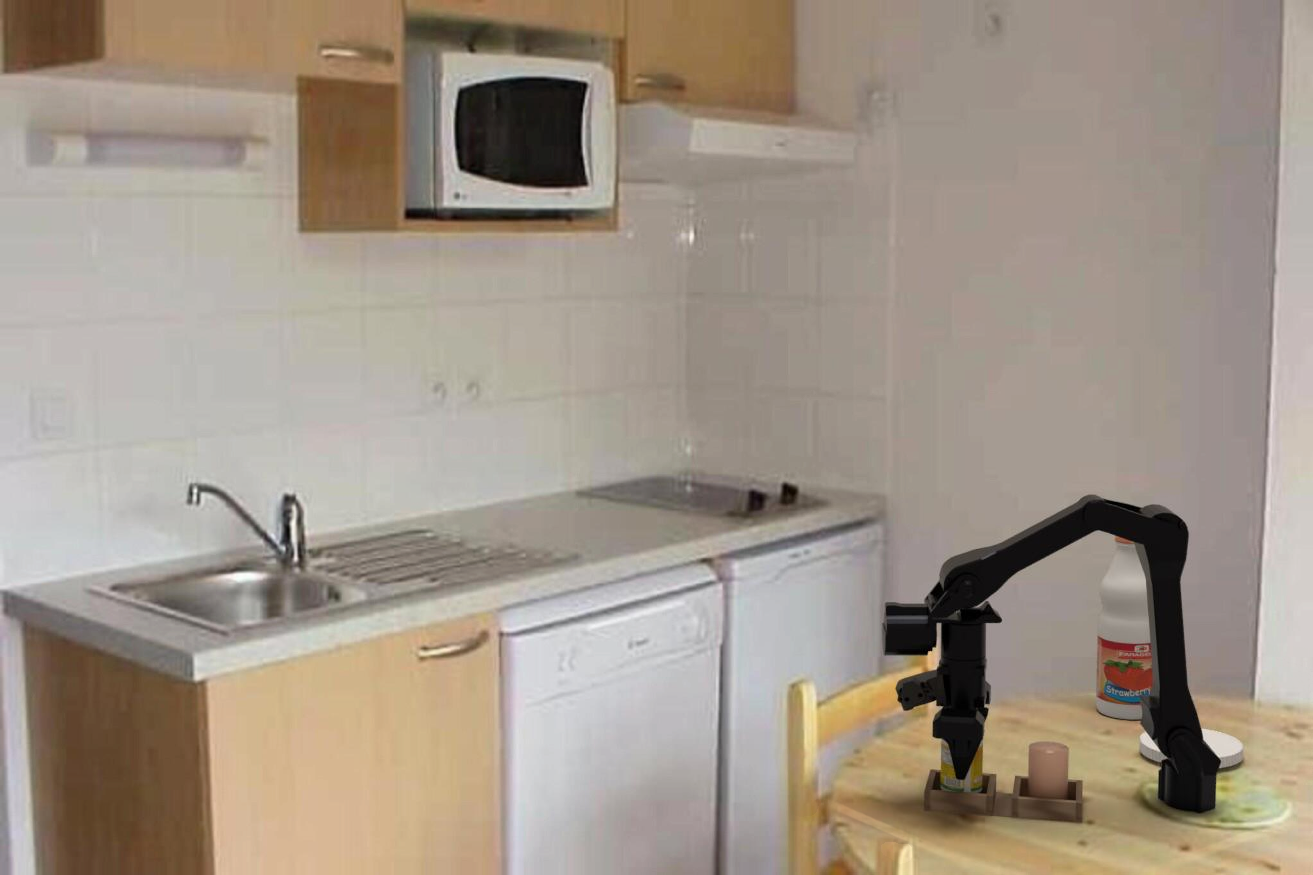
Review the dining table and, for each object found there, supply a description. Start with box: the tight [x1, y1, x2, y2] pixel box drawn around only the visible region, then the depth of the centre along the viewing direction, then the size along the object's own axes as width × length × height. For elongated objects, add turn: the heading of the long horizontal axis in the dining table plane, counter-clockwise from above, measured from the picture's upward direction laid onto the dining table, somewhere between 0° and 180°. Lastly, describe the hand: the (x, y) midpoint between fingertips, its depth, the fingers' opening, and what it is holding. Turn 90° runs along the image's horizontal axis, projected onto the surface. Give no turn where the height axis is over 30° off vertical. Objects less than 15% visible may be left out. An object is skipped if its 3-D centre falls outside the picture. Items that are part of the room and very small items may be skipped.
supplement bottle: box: [940, 739, 984, 793], centre depth 211 cm, size 5×5×10 cm
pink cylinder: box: [1027, 740, 1070, 800], centre depth 209 cm, size 5×5×8 cm
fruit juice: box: [1095, 535, 1153, 721], centre depth 250 cm, size 9×9×28 cm
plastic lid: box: [1138, 727, 1244, 769], centre depth 231 cm, size 14×14×2 cm
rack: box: [923, 768, 1084, 824], centre depth 210 cm, size 20×9×4 cm, turn 75°
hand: (962, 771), depth 211 cm, fingers closed on supplement bottle, 5 cm apart
